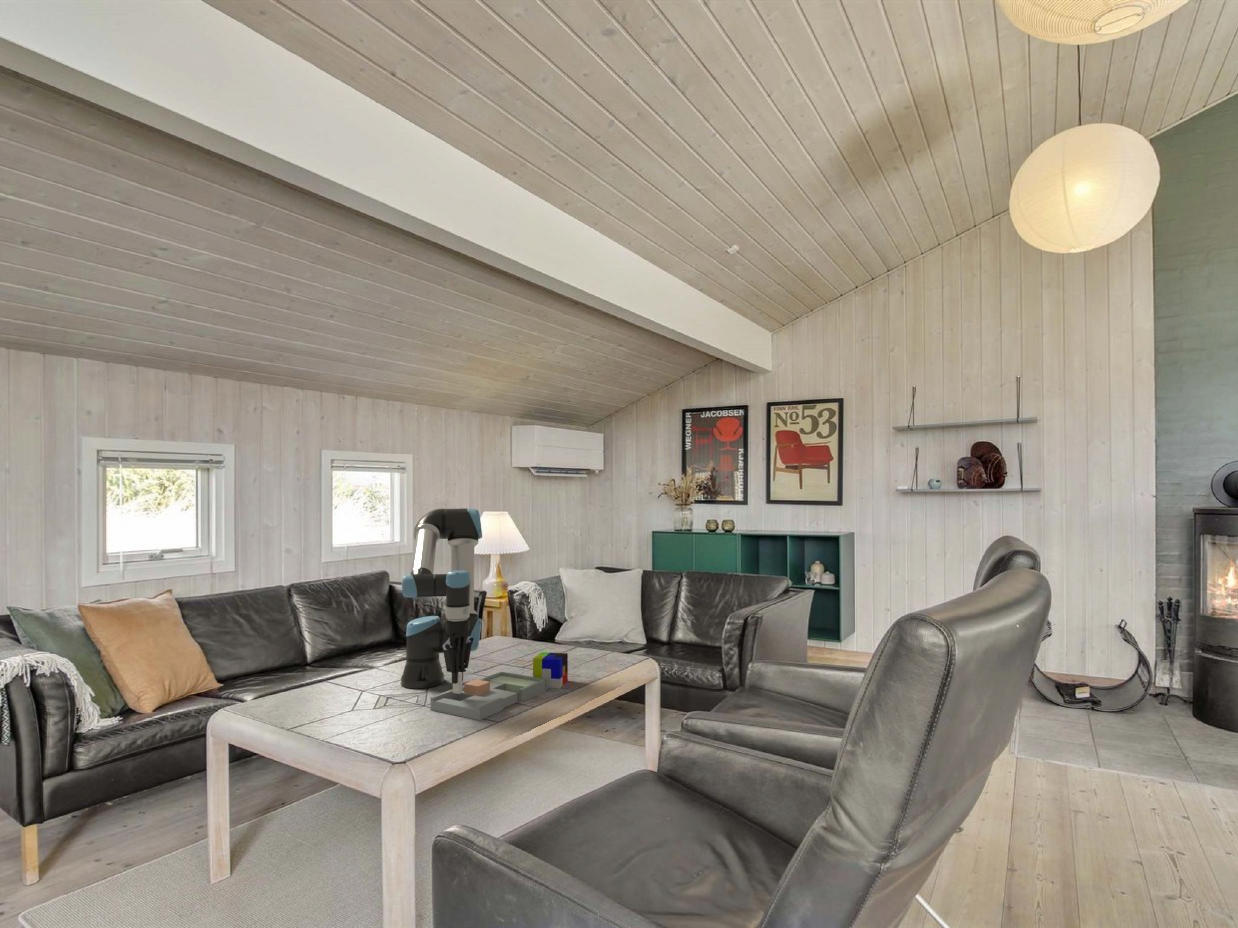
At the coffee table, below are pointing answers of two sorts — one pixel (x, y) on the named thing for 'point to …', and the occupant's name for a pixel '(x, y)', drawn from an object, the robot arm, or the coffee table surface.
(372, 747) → the coffee table surface
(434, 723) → the coffee table surface
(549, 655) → the puzzle toy
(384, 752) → the coffee table surface
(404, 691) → the coffee table surface
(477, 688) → the block
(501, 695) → the trap box
